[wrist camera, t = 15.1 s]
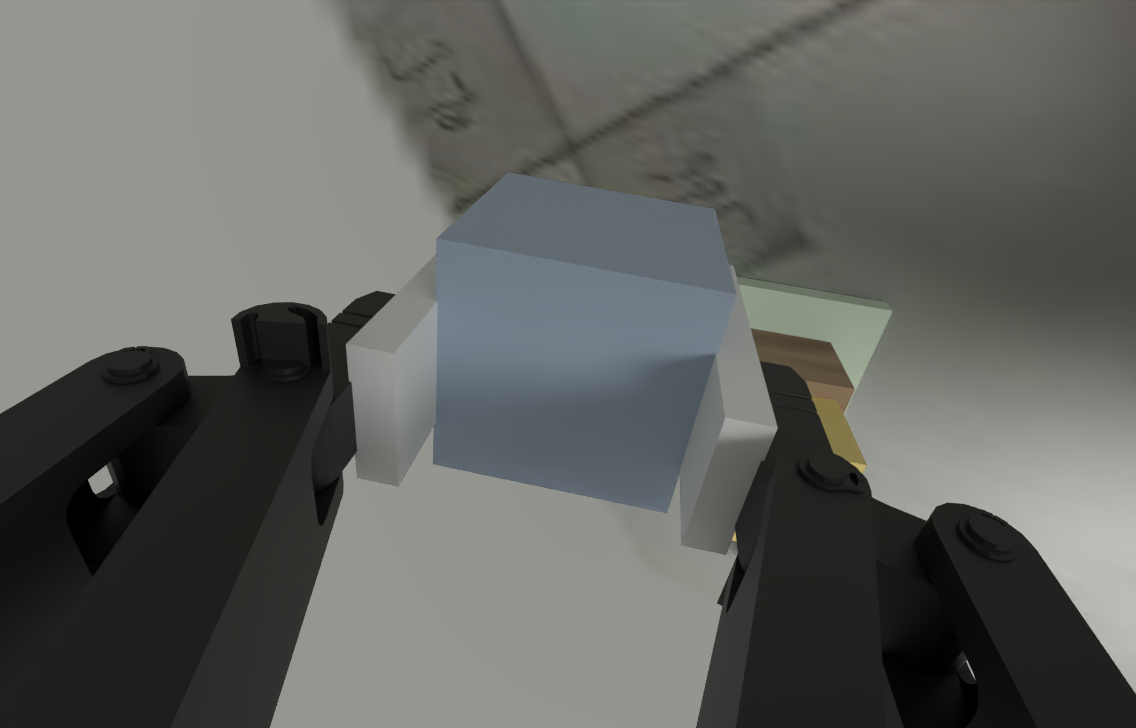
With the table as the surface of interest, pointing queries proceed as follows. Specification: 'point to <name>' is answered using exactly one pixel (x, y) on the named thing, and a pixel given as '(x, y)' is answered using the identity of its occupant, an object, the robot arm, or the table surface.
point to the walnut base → (807, 363)
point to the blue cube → (577, 337)
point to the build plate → (819, 319)
